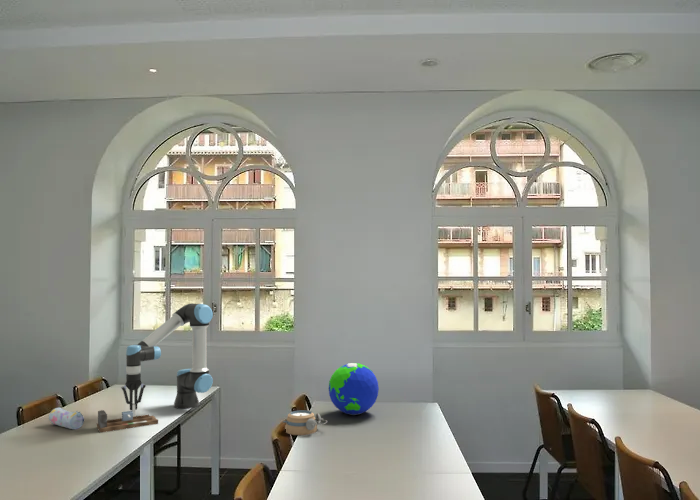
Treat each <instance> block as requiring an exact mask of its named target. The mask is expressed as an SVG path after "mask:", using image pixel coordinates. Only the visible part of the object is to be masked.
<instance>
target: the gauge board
mask: <svg viewBox="0 0 700 500" xmlns="http://www.w3.org/2000/svg"><path fill="white" fill-rule="evenodd" d="M152 425H159V419H158V418H156V417H155V416H154V415H150V414H142V415H135V416H133V420H128V421H122V417H121V418H113V419H109V420H108V413H107V412H106V411H105V410H103V409H101V410H98V411H97V423H96V428H97V430H98V431H100V432H101V433H107V432H113V430H114V431H119V430H120V429H121V430H126V428H127V429H132V428H133V427H134V428H140V427H146V426H152ZM134 428H133V429H134ZM106 431H107V432H106ZM100 432H99V433H100Z"/></svg>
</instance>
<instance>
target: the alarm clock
mask: <svg viewBox="0 0 700 500" xmlns="http://www.w3.org/2000/svg"><path fill="white" fill-rule="evenodd" d="M322 421H324V423H321V422H322ZM282 423H285V425H284V430H285V429H286V432H285V433H286V434H288V435H292V436H306V435H312V434H314V433H316V432H317V431H318V425H319V426H321V425H322V426H323V425H325V424H327V423H328V420H326V419H324V417H321V414H320V413H319V412H318V413H316V415H315V414H314V413H313V411H309V410H299V409H298V410H294V411H290V412H289V413H288V414H287V418H286V420H284V421H282Z"/></svg>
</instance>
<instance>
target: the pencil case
mask: <svg viewBox="0 0 700 500" xmlns="http://www.w3.org/2000/svg"><path fill="white" fill-rule="evenodd" d="M48 421H49V422H50V423H51V424H52V425H54V426H59V427H62V428H66V429H70V430H78V429H80V428H81V427H82V426H84V424H85V418H84V414H83V413H81V411H78V410H76V411H68V410H66V409H64V408H61V407H59V406H58V407H55V408H53V409H52V410H51V411H50V412H49V415H48Z"/></svg>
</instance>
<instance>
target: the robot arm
mask: <svg viewBox="0 0 700 500" xmlns="http://www.w3.org/2000/svg"><path fill="white" fill-rule="evenodd" d="M213 315H214V314H213V310H212V308H211V306H209V305H208V304H205V303H188V304H185V305H183V306H182V307H180V308H179V309H177V310H176V311H174V313H172V315H171V317H169V319H167V320H166V321H165V322H163V324H161V325H160V326H159V327H157V328H156V329H154V330H153V331H152V332H151V333H150V334H148V335H147V336H146V337H145V338H143V339H142V340H141V341H140V342H138V343H137V344H131V345H127V346H126V353H125V356H126V357H125V358H126V359H125V360H126V365H125V366H126V371H125V372H126V375H125V377H126V378H125V381H126V382H125V385H124V386H121V387H120V389H121V391H123V395H124V400H125V403H126V404H127V405H129V411H132V412H133V417H134V416H136V411H137V410H138V404H139V403H141V402H142V399H143V394H144V391H145V388H146V387H147V386H146V384H145V383H142V377H141V371H142V368H141V365H142V364H141V363H142V362H149V361H155V360H159V359H160V358H161V356H162V351H161V347H160V346H159V345H158V344H159V343H161V342H162V341H163V340H165V339H166V338H168V336H170V335H171V334H172V333H173V332H174V331H176V330H177V329H178V328H179V327H182V326H184V325H187V324H188V323H189V327H190V328H191V331H192V332H191V335H192V336H191V337H192V343H191V346H192V347H191V353H192V354H191V360H192V361H191V363H192V366H191V368H184V369H183V368H182V369H178V370H177V372H176V396H175V400H174V402H173V407H174V408H175V409H181V410H183V409H191V408H196V407H198V406H199V405H200V403H199V402H200V400H199V398H198V394H197V393H199V394H202V393H203V394H204V393H207V392H208V391H209V390H210V389H211V388H212V386H213V382H214V379H213V377H212V375H211V374H210V369H209V368H208V367H207V366H208V365H207V364H208V362H207V361H208V359H207V358H208V356H207V355H208V354H207V353H208V352H207V349H208V348H207V346H208V345H207V338H208V336H207V330H208V327H209V326H210V322H211V320H212V319H213ZM157 345H158V346H157ZM139 388H140V390H139ZM127 389H128V391H129V395H128V392H127ZM138 390H139V394H138ZM133 392H134V393H133ZM133 395H134V397H133ZM128 396H129V397H128ZM133 399H134V400H133ZM133 401H134V402H133Z"/></svg>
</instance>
